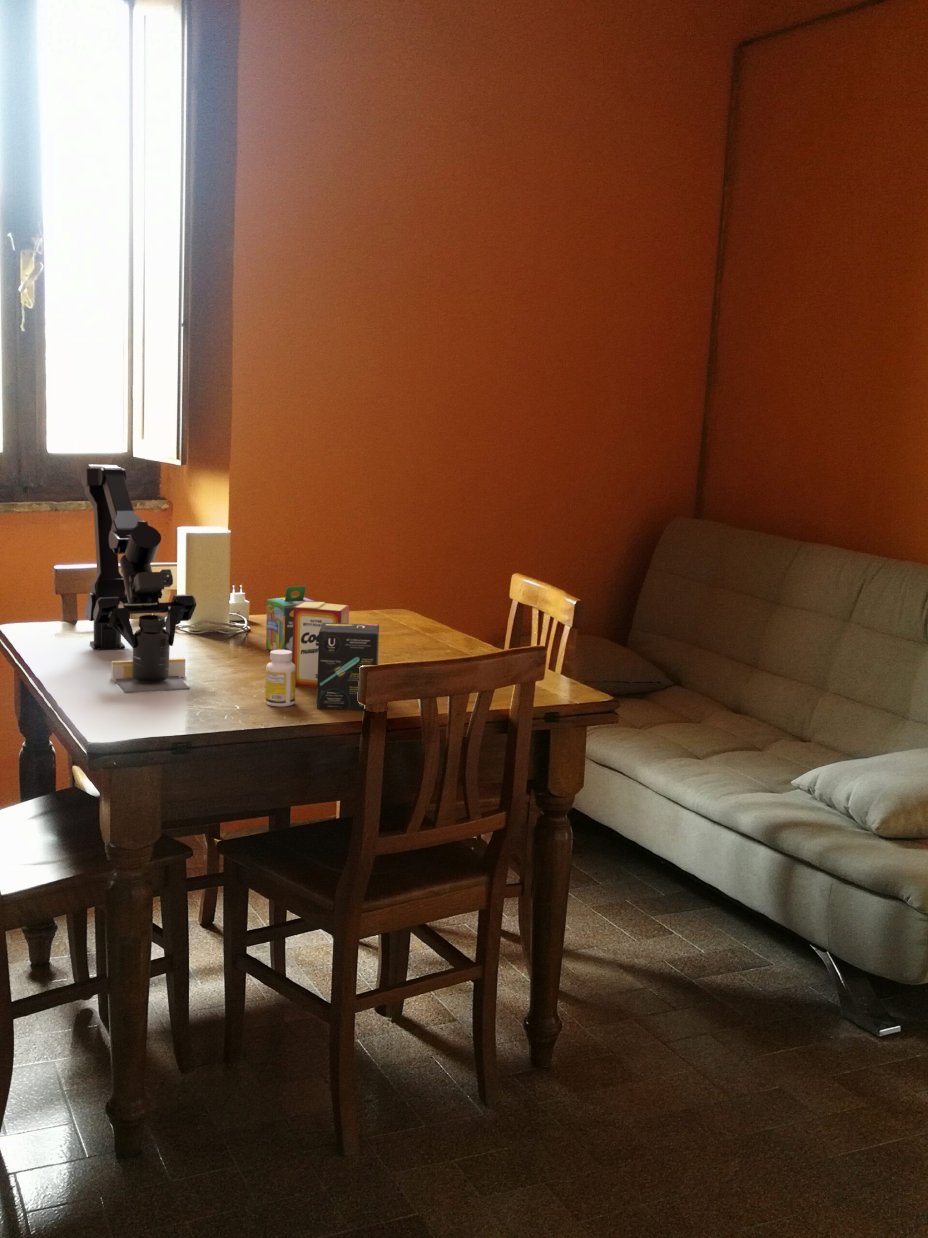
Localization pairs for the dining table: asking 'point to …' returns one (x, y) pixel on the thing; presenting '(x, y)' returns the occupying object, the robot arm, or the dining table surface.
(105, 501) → the robot arm
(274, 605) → the chalk box
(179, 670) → the rail
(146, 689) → the shelf mat
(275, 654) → the supplement bottle
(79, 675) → the dining table surface
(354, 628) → the tampon box
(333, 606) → the baking soda box
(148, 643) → the supplement bottle
